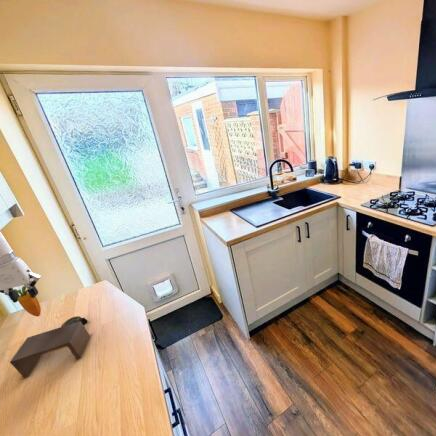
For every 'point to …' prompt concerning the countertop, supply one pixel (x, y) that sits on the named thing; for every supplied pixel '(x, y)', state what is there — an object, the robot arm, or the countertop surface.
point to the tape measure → (74, 321)
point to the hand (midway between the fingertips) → (26, 297)
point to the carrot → (28, 302)
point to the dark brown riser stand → (50, 345)
